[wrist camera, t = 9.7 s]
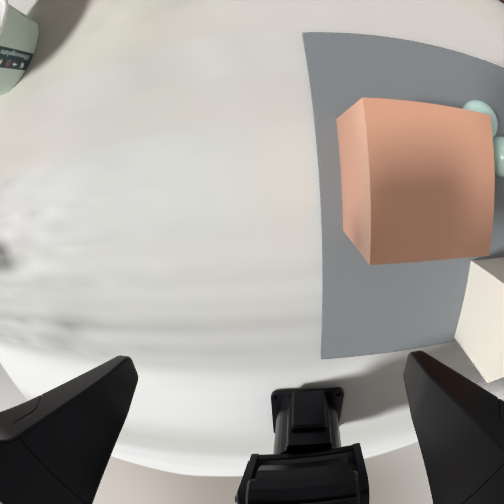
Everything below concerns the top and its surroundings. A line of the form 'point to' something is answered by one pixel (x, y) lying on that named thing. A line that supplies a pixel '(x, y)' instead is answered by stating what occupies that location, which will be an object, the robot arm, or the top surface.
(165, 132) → the top surface
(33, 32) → the food container
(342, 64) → the mat
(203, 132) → the top surface
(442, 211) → the salmon pink cube
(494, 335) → the ivory rectangular chunk
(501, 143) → the marble
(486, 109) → the marble
